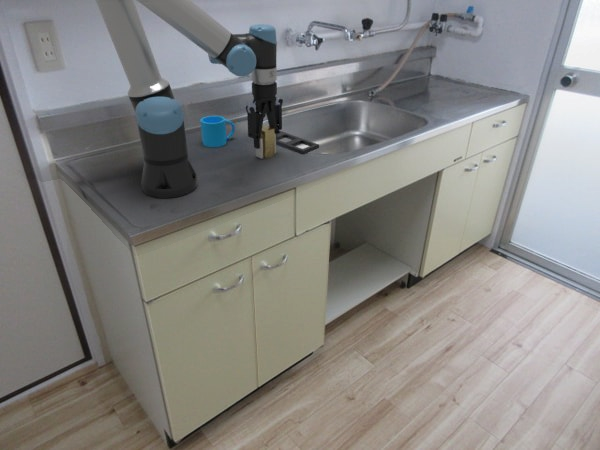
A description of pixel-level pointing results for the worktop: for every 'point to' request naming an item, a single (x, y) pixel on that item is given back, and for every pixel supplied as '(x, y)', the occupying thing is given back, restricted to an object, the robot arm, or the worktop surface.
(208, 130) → the mug
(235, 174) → the worktop surface
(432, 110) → the worktop surface
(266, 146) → the nut block
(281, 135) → the dark slotted tray
